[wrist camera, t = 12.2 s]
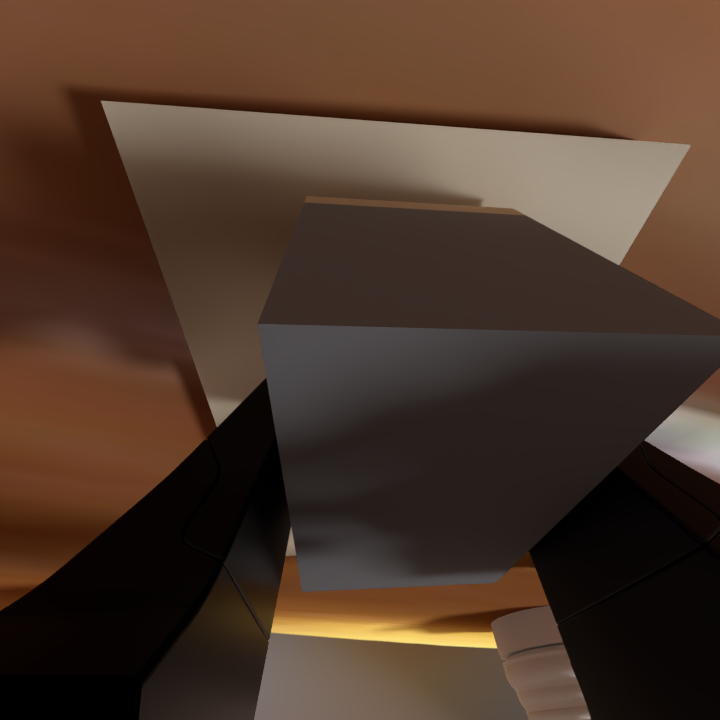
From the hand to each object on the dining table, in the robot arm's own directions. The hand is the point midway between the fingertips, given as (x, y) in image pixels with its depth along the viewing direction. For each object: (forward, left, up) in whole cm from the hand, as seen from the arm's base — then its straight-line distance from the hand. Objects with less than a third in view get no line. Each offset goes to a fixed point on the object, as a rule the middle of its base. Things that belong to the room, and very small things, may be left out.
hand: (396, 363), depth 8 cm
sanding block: (0, 0, -1) cm, 1 cm away
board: (-6, 0, -3) cm, 7 cm away
